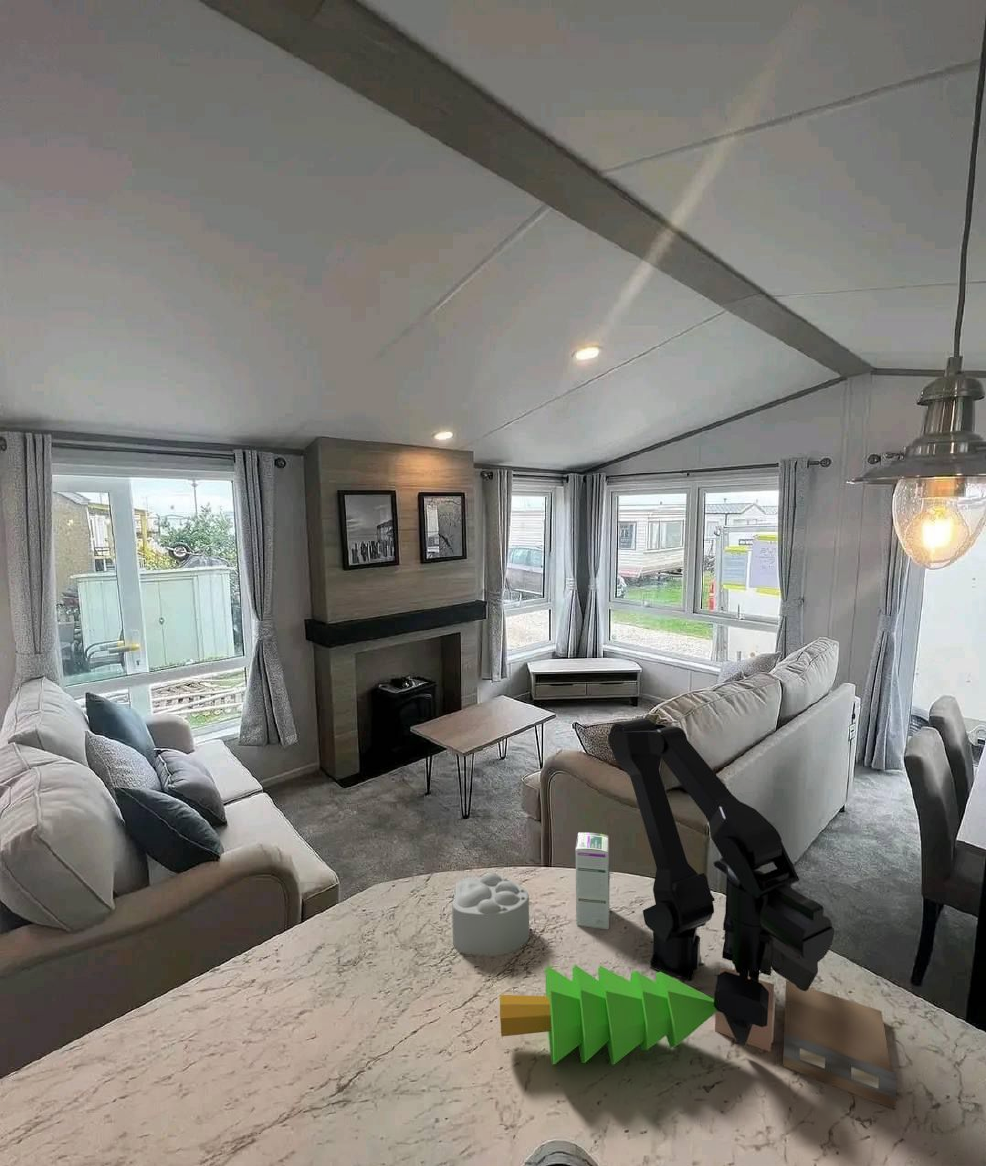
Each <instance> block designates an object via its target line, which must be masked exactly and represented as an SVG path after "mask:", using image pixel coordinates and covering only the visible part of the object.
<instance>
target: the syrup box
mask: <svg viewBox="0 0 986 1166" xmlns="http://www.w3.org/2000/svg"><path fill="white" fill-rule="evenodd" d="M609 840H610V839H609V835H608V834H605V833H604V834H603V833H597V832H581V831H580V832H578V833H577V838H576V843H575V900H576V901H575V904H576V905H575V906H576V907H575V908H576V909H575V911H576V912H575V913H576V917H575V918H576V919H575V921H576V925H577V926H580V927H586V928H594V929H600V930H601V929H603V930H609V926H610V884H611V883H610V882H611V881H610V876H611V875H610V848H609V847H610V841H609Z"/></svg>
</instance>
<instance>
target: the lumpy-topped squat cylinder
mask: <svg viewBox="0 0 986 1166" xmlns="http://www.w3.org/2000/svg"><path fill="white" fill-rule="evenodd" d="M451 909H452V910H451V915H452V916H451V917H452V918H451V922H452V928H451V929H452V946H453V948H454V949H455V950H457V951H458V952H460V953H462V954H465V955H475V956H500V955H501V956H502V955H505V954H507V953H511V952H513V951H515V950H517V949H519V948H521V947H522V946H523V945H524V944H525V943H527V941H528V940H529V938H530V937H529V936H530V896H529V893H528V891H527V890H526V888H525V887H523V886H522V885H521V884H519V883H518V882H515V881H514V880H511V879H508V878H505V877H501V876H500V875H498V874H497V873H495V872H492V871H489V872H485V873H484V874H483V875H482V876H469V877H464V878H462V879H460V880H459V881H457V882H456V884H455V886H454V898H453V899H452V903H451Z"/></svg>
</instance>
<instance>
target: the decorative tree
mask: <svg viewBox="0 0 986 1166" xmlns="http://www.w3.org/2000/svg"><path fill="white" fill-rule="evenodd" d="M597 975H598V979H597V978H595V977H593V976H592V975H591V974H590V973H588V972H587V971H585V969H582V968H581V967H579V966H578V965H577V964H574V966H573V967H572V980H571V979H570V978H568V977H566V976H565V975H563V974H562V973H560V972H558V971H557V970H555V969H554V968H552V967H550V966H548V965H547V966H546V967H545V995H523V994H522V995H521V994H520V995H517V994H499V1016H500V1018H499V1019H500V1036H501V1037H508V1036H509V1037H510V1036H518V1035H527V1034H535V1033H536V1034H538V1033H547V1032H548V1033H547V1035H548V1042H549V1043H548V1044H549V1052H550V1053H549V1054H550V1059H551V1065H555V1064H557V1063H558V1062H559V1061H560V1060H562V1059H563V1058H564V1057H566V1056H567V1055H569V1054H570V1053H571V1052H572V1051H573V1050H575V1049H576V1048H577V1047H578V1052H579V1057H580V1063H583V1064H586V1063H587V1062H589V1060H590V1059H591V1058H592V1057H593V1056H595V1054H596V1053H597V1052H598V1051H600V1050H601V1049H602V1047H604V1046H605V1045H606V1047H607V1051H608V1055H609V1061H610V1062H609V1063H610V1065H615V1064H617V1063H618V1062H619V1061H620V1060H622V1059H623V1058H624V1057H625V1056H626V1055H628V1054H629V1053H630V1052H632V1051H633V1050H634V1049H636V1047H638V1046H640V1049H641V1051H647V1050H649V1049H651V1048H652V1047H653V1046H654V1045H655V1044H658V1042H659V1041H661V1040H662V1039H663V1038H666V1040H667V1043H668V1045H669V1048H670V1049H671V1048H676V1047H677V1046H679V1045H680V1044H681V1043H682V1042H683V1041H685V1040H686V1039H687V1038H688V1037H689V1036H690V1035H691V1034H692V1033H694V1032H695V1031H696V1030H698V1028H699V1027H701V1026H702V1025H703V1024H704V1023H705V1022H707V1021H708V1020H709V1019H710V1018H711V1017H712V1016H713V1015H715V1014H716V1012H717V1009H716V1008H715V1007H714V998H712V997H710V996H709V995H706V994H705V993H703V992H701V991H699V990H697V989H695V988H693V987H691V986H689V985H687V984H685V983H684V982H682V981H679V980H677V978H674V977H672V976H670V975H668V974H666V973H665V972H663V971H659V972H656V973H655V981H654V980H653V979H651V978H649V977H648V976H646V975H644V974H643V973H641V972H638V971H637V970H634V971H632V972H630V980H628V979H626V978H625V977H623V976H621V975H619V974H617V973H615V972H614V971H611V970H610V969H608V968H607V967H604V966H602V965H599V967H598V969H597Z"/></svg>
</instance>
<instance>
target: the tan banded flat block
mask: <svg viewBox="0 0 986 1166" xmlns="http://www.w3.org/2000/svg"><path fill="white" fill-rule="evenodd" d="M784 994H785V997H784V1023H783V1027H784V1028H783V1029H784V1031H783V1033H784V1034H783V1055H782V1057H783V1058H782V1066H783V1067H785V1068H788V1069H790V1070H792V1071H795V1072H797V1073H799V1074H802V1075H805V1076H807V1077H811V1078H813V1079H815V1080H818V1081H820V1082H823V1083H826V1084H829V1085H831V1086H833V1087H836V1088H837V1089H841V1090H843V1091H846V1092H848V1093H851V1094H854V1095H856V1096H859V1097H861V1098H864V1099H867V1100H870V1101H872V1102H874V1103H877V1104H880V1105H883V1106H884V1107H887V1108H890V1109H892V1110H896V1100H897V1083H898V1077H897V1073H895V1072H893V1071H892V1068H891V1061H890V1055H889V1050H888V1043H887V1037H886V1036H887V1035H886V1029H885V1025H884V1018H883V1014H882V1013H883V1011H882V1010H879V1009H877V1008H873V1007H870V1006H867V1005H864V1004H862V1003H858V1002H855V1001H853V1000H849V999H846V998H842V997H840V996H836V995H833V994H830V993H827V992H824V991H821V990H818V989H814V988H812V987H809V989H808V990H807V991H802V990H800V989H798V988H797V987H796V985H795V984H793V983H791V982H790V981H788V980H787V979H785V993H784Z"/></svg>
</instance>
